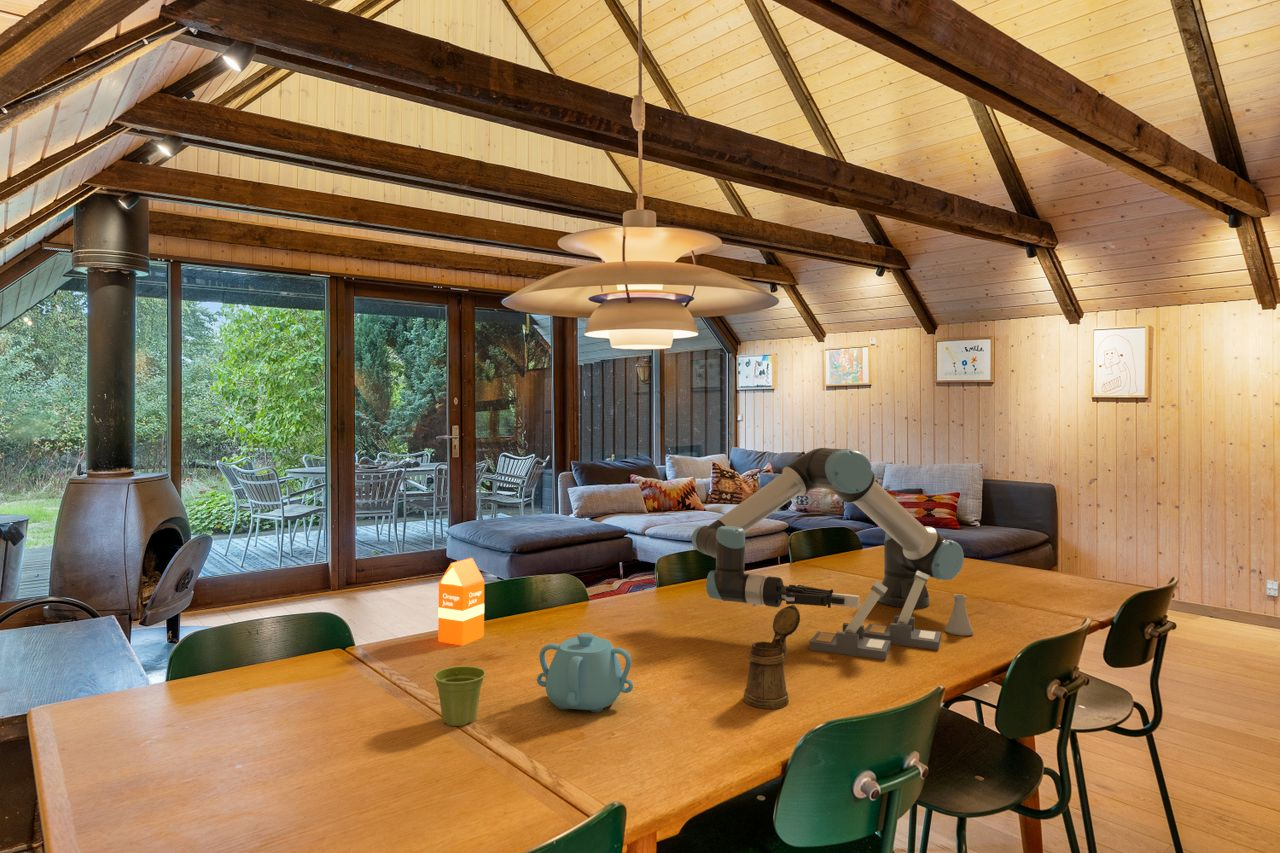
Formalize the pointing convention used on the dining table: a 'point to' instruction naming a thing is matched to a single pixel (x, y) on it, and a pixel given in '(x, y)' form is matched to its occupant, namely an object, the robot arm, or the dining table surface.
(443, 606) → the orange juice
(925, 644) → the housing far
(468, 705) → the plant pot
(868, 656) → the housing near
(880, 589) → the lever near
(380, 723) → the dining table surface
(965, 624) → the flask
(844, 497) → the robot arm
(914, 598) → the lever far
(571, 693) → the decorative pot
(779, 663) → the wooden mug
